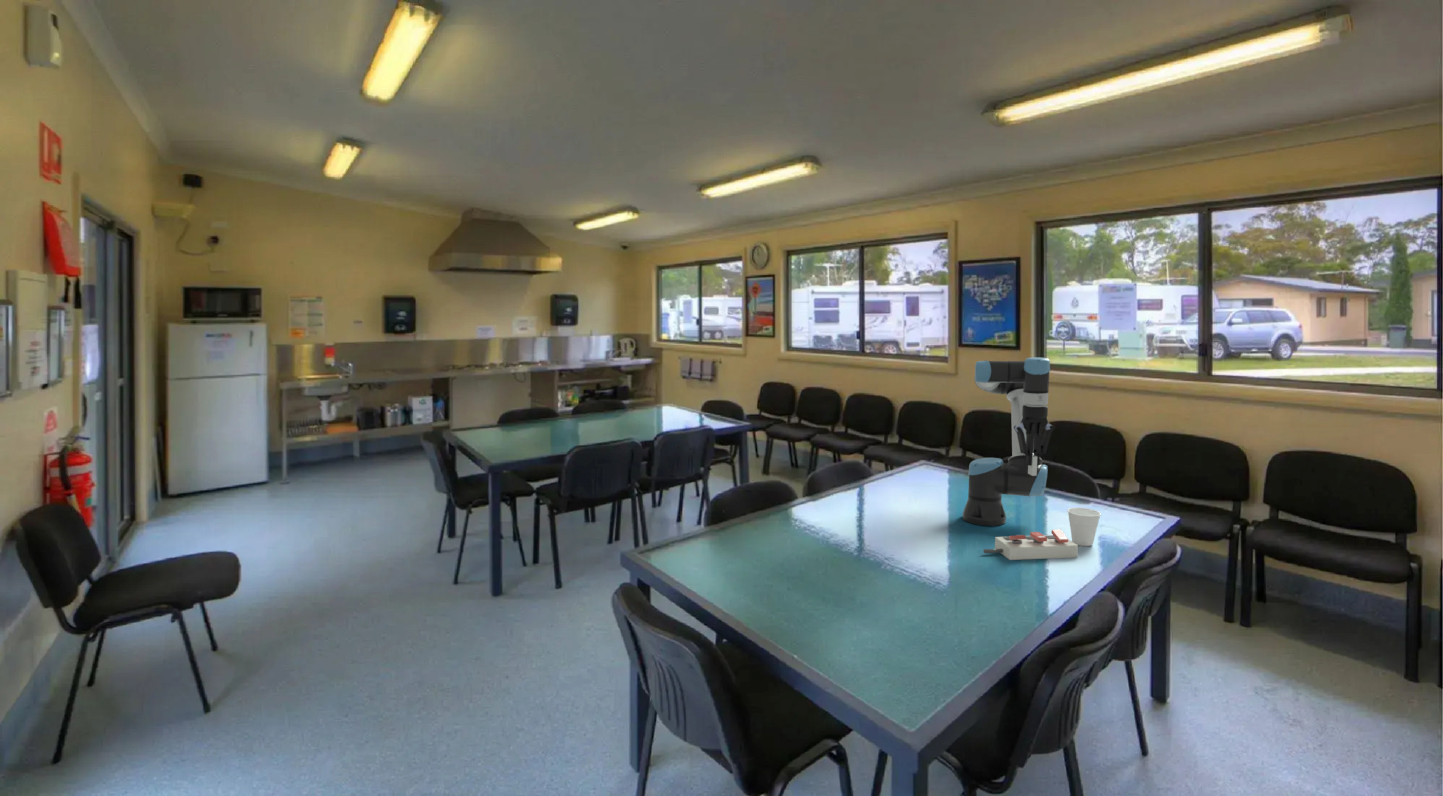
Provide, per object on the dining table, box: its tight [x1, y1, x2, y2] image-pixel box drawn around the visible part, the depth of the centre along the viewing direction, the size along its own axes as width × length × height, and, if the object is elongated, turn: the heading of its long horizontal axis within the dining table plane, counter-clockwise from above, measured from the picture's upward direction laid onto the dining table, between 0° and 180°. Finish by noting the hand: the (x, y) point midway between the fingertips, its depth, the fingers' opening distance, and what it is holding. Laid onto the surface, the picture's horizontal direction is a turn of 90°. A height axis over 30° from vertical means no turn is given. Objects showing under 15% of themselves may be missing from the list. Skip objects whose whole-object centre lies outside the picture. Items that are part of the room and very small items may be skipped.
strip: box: [982, 534, 1079, 561], centre depth 209 cm, size 10×28×5 cm, turn 93°
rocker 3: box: [1050, 529, 1070, 543], centre depth 208 cm, size 5×3×1 cm, turn 3°
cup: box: [1066, 507, 1102, 547], centre depth 217 cm, size 10×10×11 cm
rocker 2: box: [1029, 531, 1047, 542], centre depth 207 cm, size 5×3×1 cm, turn 3°
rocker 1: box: [1008, 534, 1026, 540], centre depth 207 cm, size 5×3×1 cm, turn 2°
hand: (1032, 474), depth 216 cm, fingers closed
